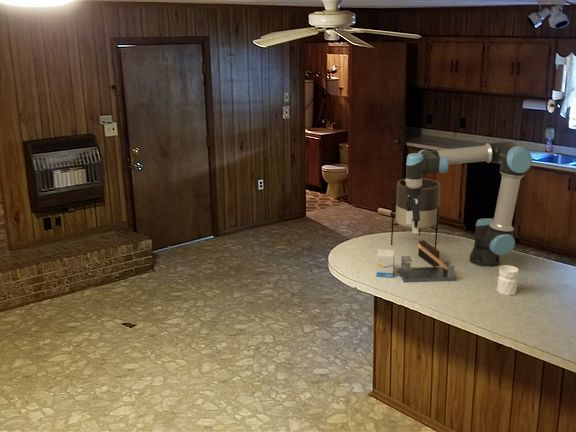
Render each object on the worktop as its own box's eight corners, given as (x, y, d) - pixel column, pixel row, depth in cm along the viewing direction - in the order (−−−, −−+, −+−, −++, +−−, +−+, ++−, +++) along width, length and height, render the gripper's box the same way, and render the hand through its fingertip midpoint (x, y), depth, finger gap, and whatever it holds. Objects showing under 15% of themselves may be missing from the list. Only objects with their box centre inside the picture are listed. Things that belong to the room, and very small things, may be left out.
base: (448, 270, 326) (449, 256, 324) (456, 280, 314) (457, 266, 312) (398, 271, 325) (398, 258, 323) (403, 282, 313) (404, 268, 310)
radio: (417, 255, 345) (419, 229, 341) (422, 255, 346) (424, 228, 342) (435, 268, 329) (437, 241, 324) (440, 268, 330) (442, 240, 325)
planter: (449, 242, 363) (454, 182, 352) (425, 255, 346) (429, 192, 335) (410, 232, 380) (413, 174, 369) (386, 243, 363) (388, 183, 352)
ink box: (393, 278, 318) (394, 256, 314) (376, 276, 320) (376, 255, 316) (394, 271, 326) (395, 249, 322) (377, 270, 328) (378, 248, 324)
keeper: (409, 267, 325) (410, 255, 323) (412, 273, 318) (413, 261, 316) (400, 268, 325) (401, 256, 323) (403, 273, 318) (404, 261, 316)
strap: (447, 269, 319) (449, 267, 319) (450, 272, 315) (452, 270, 314) (417, 245, 314) (419, 243, 314) (419, 248, 310) (421, 246, 309)
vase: (494, 288, 306) (496, 265, 302) (512, 288, 305) (515, 265, 301) (499, 296, 297) (502, 272, 293) (518, 296, 297) (521, 272, 293)
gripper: (400, 179, 316) (399, 220, 323) (411, 194, 293) (409, 237, 300) (415, 179, 317) (414, 219, 323) (427, 193, 293) (425, 237, 300)
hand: (412, 228), depth 311 cm, fingers open, 13 cm apart
